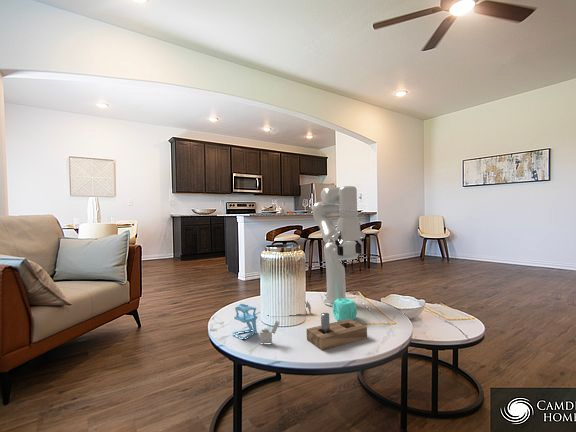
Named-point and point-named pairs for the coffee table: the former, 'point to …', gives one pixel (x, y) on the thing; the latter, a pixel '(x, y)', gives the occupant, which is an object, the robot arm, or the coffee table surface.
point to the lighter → (268, 334)
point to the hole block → (337, 334)
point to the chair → (246, 319)
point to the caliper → (308, 307)
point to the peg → (325, 323)
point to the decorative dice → (344, 309)
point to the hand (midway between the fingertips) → (349, 254)
